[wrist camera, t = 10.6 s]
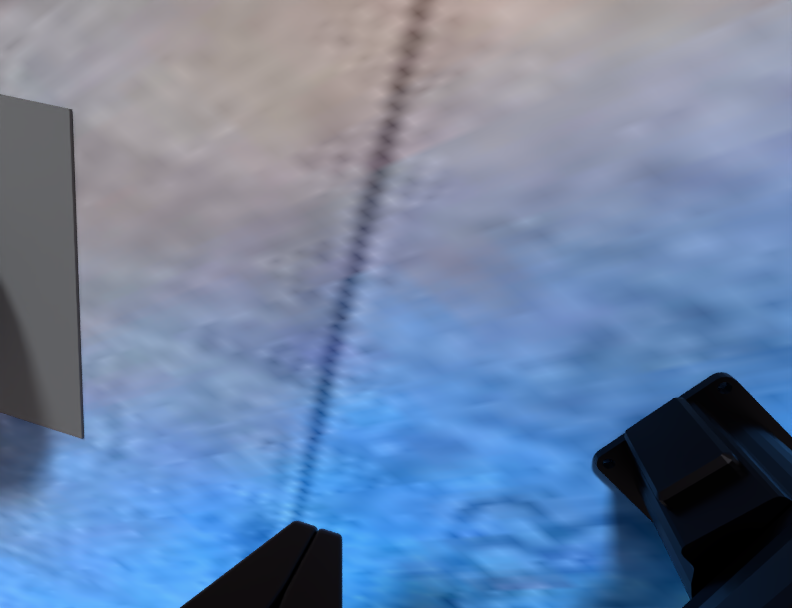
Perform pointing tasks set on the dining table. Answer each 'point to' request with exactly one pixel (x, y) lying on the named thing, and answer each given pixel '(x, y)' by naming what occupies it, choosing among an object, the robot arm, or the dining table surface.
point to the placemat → (39, 267)
